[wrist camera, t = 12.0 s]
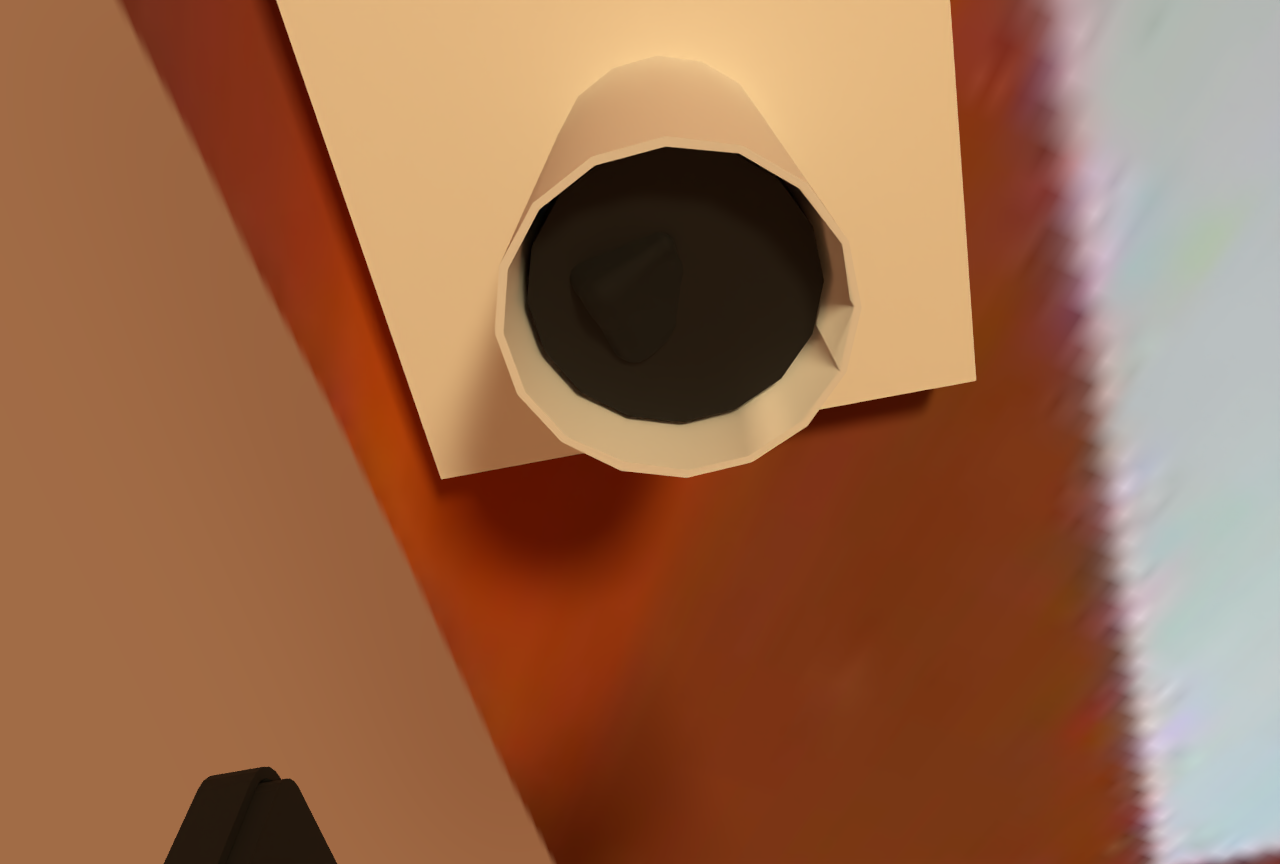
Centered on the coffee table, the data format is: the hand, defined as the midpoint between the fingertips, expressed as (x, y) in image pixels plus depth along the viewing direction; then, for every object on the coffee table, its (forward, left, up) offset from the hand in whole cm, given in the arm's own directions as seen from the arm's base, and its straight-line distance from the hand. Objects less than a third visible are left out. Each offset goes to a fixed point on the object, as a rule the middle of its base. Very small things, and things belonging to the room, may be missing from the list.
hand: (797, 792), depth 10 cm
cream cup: (0, +1, -21) cm, 21 cm away
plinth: (0, +1, -24) cm, 24 cm away
